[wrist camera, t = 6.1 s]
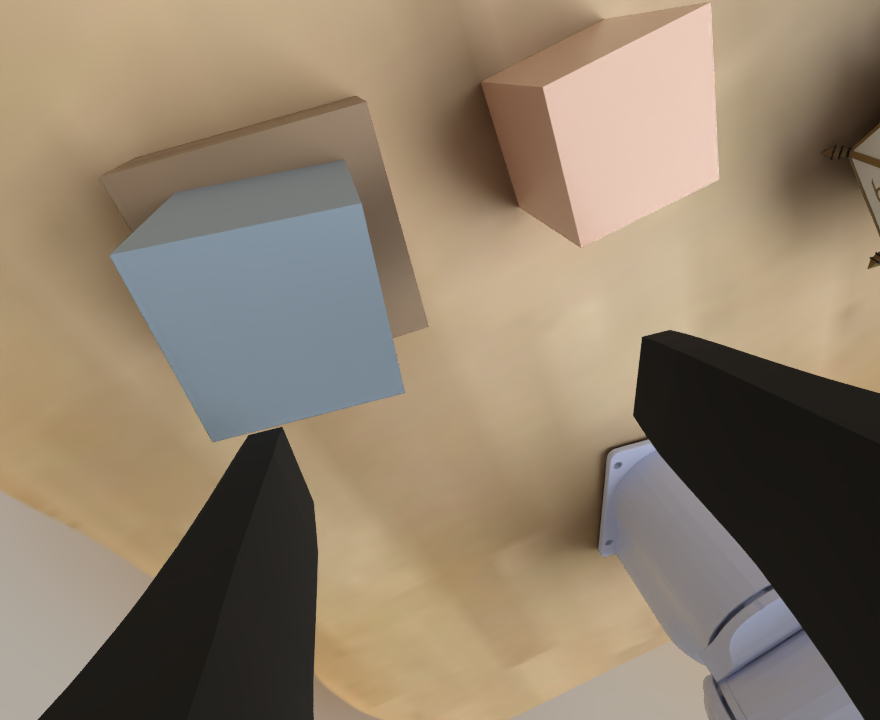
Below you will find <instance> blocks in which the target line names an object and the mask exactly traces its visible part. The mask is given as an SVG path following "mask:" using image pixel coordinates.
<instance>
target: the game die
mask: <svg viewBox="0 0 880 720" xmlns="http://www.w3.org/2000/svg"><path fill="white" fill-rule="evenodd" d="M836 146H837V145H835V147H833V148H831V149H829V150H826V151H824V152H822V154H824V155H826V156H828V157H829V158H831V160H832V159H833V158H838V159H840V158H843V157H847V158H849V161H850V163H851V166H852V168H853V171H854V173H855V176H856V178H857V181H858V183H859V186H860V188H861V191H862V193H863V196H864V198H865V201H866V203H867V206H868V208H869V211H870V213H871V216H872V218H873V221H874V223H875V226H876V228H877V231H878V233H879V236H880V123H879V124H878V125H877V126H876V127H875V128H873V129H872V130H871V131H870V132H869V133H868V134H867V135H865V136H864V137H863V138H862V139H861V140H860V141H859V142H858V143H856V144H855V145H854V146H853V147H852V148H845V147H844V146H842V147H836ZM870 259H871V260H870V263H869V266H868V269H870V268H873V267H876V266H880V252H878V253H877V252H876V253H875V255H874V256H873V257H870Z"/></svg>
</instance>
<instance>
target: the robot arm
mask: <svg viewBox="0 0 880 720" xmlns="http://www.w3.org/2000/svg"><path fill="white" fill-rule="evenodd" d="M633 416H634V417H635V419H636V421H637V422H638V424H639V425H640V427H641V428H642V430H643V431H644V433H645V435H646V436H647V438H648V440H645V441H641V442H637V443H634V444H630V445H627V446H623V447H619V448H616V449H613V450H612V451H610V452H609V454H608V456H607V463H606V473H605V484H604V494H603V505H602V515H601V526H600V537H599V547H598V551H599V553H600V554H601V556H604V557H606V556H610V555H613V554H616V555H617V556H618V558H619V560H620V561H621V563H622V564H623V566H624V568H625V569H626V571H627V572H628V574H629V575H630V577H631V579H632V580H633V582H634V583H635V585H636V586H637V588H638V590H639V591H640V593H641V594H642V596H643V597H644V599H645V601H646V602H647V604H648V605H649V607H650V609H651V610H652V612H653V613H654V615H655V616H656V618H657V620H658V621H659V623H660V624H661V626H662V627H663V629H664V631H665V632H666V634H667V635H668V636H669V638H670V639H671V640H672V641H673V642H674V643H675V645H676V646H677V647H679V648H680V649H681V650H682V651H683V652H684V653H685V654H687V655H689V656H690V657H691V658H693V659H694V660H696V661H697V662H699V663H701V664H703V665H705V666H706V667H707V668H708V670H709V671H710V673H711V675H709V676H707V677H706V678H705V679H704V680H703V689H704V704H705V709H706V712H707V715H708V718H709V720H880V393H876V392H873V391H869V390H866V389H862V388H859V387H855V386H852V385H848V384H845V383H841V382H837V381H834V380H830V379H827V378H824V377H820V376H817V375H814V374H811V373H807V372H804V371H801V370H798V369H794V368H791V367H788V366H785V365H782V364H779V363H776V362H773V361H769V360H766V359H763V358H760V357H757V356H754V355H751V354H748V353H745V352H742V351H739V350H736V349H733V348H730V347H727V346H724V345H720V344H717V343H714V342H711V341H708V340H705V339H701V338H698V337H695V336H691V335H688V334H684V333H680V332H676V331H672V330H668V331H664V332H660V333H656V334H652V335H648V336H644V337H642V343H641V352H640V360H639V369H638V378H637V387H636V395H635V404H634V413H633ZM317 568H318V547H317V534H316V522H315V512H314V502H313V499H312V497H311V495H310V492H309V490H308V487H307V485H306V483H305V480H304V478H303V475H302V473H301V471H300V468H299V466H298V463H297V461H296V459H295V456H294V454H293V451H292V449H291V447H290V444H289V442H288V439H287V437H286V435H285V432H284V430H283V427H280V428H276V429H272V430H268V431H264V432H260V433H256V434H252V435H248V437H247V439H246V440H245V442H244V443H243V445H242V446H241V448H240V449H239V451H238V452H237V454H236V456H235V457H234V459H233V460H232V462H231V464H230V465H229V467H228V469H227V470H226V472H225V473H224V475H223V477H222V478H221V480H220V482H219V483H218V485H217V486H216V488H215V490H214V491H213V493H212V494H211V496H210V498H209V499H208V501H207V502H206V504H205V505H204V507H203V508H202V510H201V511H200V513H199V514H198V516H197V518H196V519H195V521H194V522H193V524H192V525H191V527H190V528H189V530H188V531H187V533H186V534H185V536H184V537H183V539H182V540H181V542H180V543H179V545H178V546H177V548H176V549H175V550H174V552H173V553H172V555H171V556H170V557H169V559H168V560H167V562H166V563H165V564H164V566H163V567H162V569H161V570H160V571H159V573H158V574H157V576H156V577H155V578H154V580H153V581H152V583H151V584H150V585H149V587H148V588H147V590H146V591H145V592H144V594H143V595H142V596H141V598H140V599H139V600H138V602H137V603H136V604H135V606H134V607H133V608H132V610H131V611H130V612H129V613H128V615H127V616H126V617H125V618H124V620H123V621H122V622H121V623H120V625H119V626H118V627H117V628H116V630H115V631H114V632H113V633H112V635H111V636H110V637H109V638H108V639H107V641H106V642H105V643H104V644H103V645H102V647H101V648H100V649H99V650H98V651H97V653H96V654H95V655H94V656H93V658H92V659H91V660H90V661H89V662H88V664H87V665H86V666H85V667H84V669H83V670H82V671H81V672H80V673H79V674H78V675H77V677H76V678H75V679H74V680H73V681H72V683H71V684H70V685H69V686H68V687H67V688H66V689H65V690H64V691H63V693H62V694H61V695H60V696H59V697H58V698H57V699H56V700H55V701H54V703H53V704H52V705H51V706H50V707H49V708H48V709H47V710H46V711H45V712H44V714H43V715H42V716H41V717H40V718H39V719H38V720H314V717H313V675H314V649H315V623H316V598H317Z"/></svg>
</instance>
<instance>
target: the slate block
mask: <svg viewBox="0 0 880 720" xmlns="http://www.w3.org/2000/svg"><path fill="white" fill-rule="evenodd" d="M109 256H110V258H111V260H112V261H113V263H114V265H115V267H116V269H117V270H118V272H119V274H120V276H121V278H122V279H123V281H124V283H125V285H126V287H127V288H128V290H129V292H130V294H131V296H132V297H133V299H134V301H135V303H136V305H137V306H138V308H139V310H140V312H141V314H142V316H143V317H144V319H145V321H146V323H147V325H148V326H149V328H150V330H151V332H152V334H153V335H154V337H155V339H156V341H157V343H158V344H159V346H160V348H161V350H162V352H163V353H164V355H165V357H166V359H167V361H168V363H169V364H170V366H171V368H172V370H173V372H174V373H175V375H176V377H177V379H178V381H179V382H180V384H181V386H182V388H183V390H184V391H185V393H186V395H187V397H188V399H189V400H190V402H191V404H192V406H193V408H194V410H195V411H196V413H197V415H198V417H199V419H200V420H201V422H202V424H203V426H204V428H205V429H206V431H207V433H208V435H209V437H210V438H211V440H212V442H216V441H220V440H224V439H228V438H231V437H235V436H239V435H243V434H247V433H251V432H255V431H259V430H263V429H266V428H270V427H274V426H278V425H282V424H286V423H290V422H294V421H298V420H301V419H305V418H309V417H313V416H317V415H321V414H325V413H329V412H332V411H336V410H340V409H344V408H348V407H352V406H356V405H360V404H364V403H367V402H371V401H375V400H379V399H383V398H387V397H391V396H395V395H398V394H402V393H405V391H404V386H403V382H402V378H401V373H400V369H399V364H398V360H397V356H396V351H395V347H394V343H393V338H392V334H391V329H390V325H389V321H388V316H387V312H386V307H385V303H384V299H383V294H382V290H381V286H380V281H379V277H378V272H377V268H376V264H375V259H374V255H373V251H372V246H371V242H370V237H369V233H368V229H367V224H366V220H365V216H364V211H363V207H362V203H361V200H360V198H359V195H358V193H357V190H356V188H355V185H354V183H353V180H352V178H351V175H350V172H349V170H348V167H347V165H346V162H345V160H340V161H335V162H330V163H325V164H320V165H315V166H309V167H304V168H299V169H294V170H289V171H284V172H278V173H273V174H268V175H263V176H258V177H253V178H247V179H242V180H237V181H232V182H227V183H222V184H216V185H211V186H206V187H201V188H196V189H191V190H186V191H180V192H175V193H174V194H173V195H172V196H171V197H170V198H169V199H168V200H167V201H166V202H165V203H164V204H163V205H162V206H160V207H159V208H158V209H157V210H156V211H155V212H154V213H153V214H152V215H151V216H150V217H149V218H148V219H147V220H146V221H145V222H144V223H143V224H141V225H140V226H139V227H138V228H137V229H136V230H135V231H134V232H133V233H132V234H131V235H130V236H129V237H128V238H127V239H126V240H125V241H124V242H122V243H121V244H120V245H119V246H118V247H117V248H116V249H115V250H114V251H113V252H112V253H111V254H110V255H109Z"/></svg>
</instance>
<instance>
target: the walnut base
mask: <svg viewBox="0 0 880 720" xmlns="http://www.w3.org/2000/svg"><path fill="white" fill-rule="evenodd" d="M340 160H345V162H346V165H347V167H348V170H349V172H350V175H351V178H352V180H353V183H354V185H355V188H356V190H357V193H358V195H359V198H360V200H361V203H362V207H363V211H364V216H365V220H366V224H367V229H368V233H369V237H370V242H371V246H372V251H373V255H374V259H375V264H376V268H377V272H378V277H379V281H380V286H381V290H382V294H383V299H384V303H385V307H386V312H387V316H388V321H389V325H390V329H391V334H392V338H395V337H398V336H401V335H404V334H407V333H410V332H413V331H416V330H420V329H423V328H426V327H429V326H428V322H427V319H426V315H425V312H424V308H423V304H422V301H421V297H420V294H419V290H418V286H417V283H416V279H415V276H414V272H413V268H412V265H411V261H410V258H409V254H408V250H407V247H406V243H405V240H404V236H403V232H402V229H401V225H400V222H399V218H398V214H397V211H396V207H395V204H394V200H393V196H392V193H391V189H390V186H389V182H388V178H387V175H386V171H385V168H384V164H383V160H382V157H381V153H380V150H379V146H378V142H377V139H376V135H375V132H374V128H373V124H372V121H371V117H370V114H369V110H368V106H367V103H366V101H364V100H362V99H361V98H359V97H357V96H354V97H350V98H347V99H343V100H339V101H336V102H332V103H329V104H325V105H322V106H318V107H315V108H311V109H307V110H304V111H300V112H297V113H293V114H290V115H286V116H283V117H279V118H276V119H272V120H268V121H265V122H261V123H258V124H254V125H251V126H247V127H244V128H240V129H236V130H233V131H229V132H226V133H222V134H219V135H215V136H212V137H208V138H204V139H201V140H197V141H194V142H190V143H187V144H183V145H180V146H176V147H172V148H169V149H165V150H162V151H158V152H155V153H151V154H148V155H144V156H141V157H137V158H135V159H133V160H131V161H129V162H127V163H125V164H123V165H121V166H119V167H117V168H116V169H114V170H112V171H110V172H108V173H106V174H104V175H102V176H100V177H99V179H100V181H101V182H102V184H103V186H104V187H105V189H106V191H107V192H108V194H109V195H110V197H111V199H112V200H113V202H114V204H115V205H116V207H117V208H118V210H119V212H120V213H121V215H122V217H123V218H124V220H125V222H126V223H127V225H128V226H129V228H130V230H131V231H132V233H133V232H134V231H135V230H136V229H137V228H138V227H139V226H140V225H141V224H143V223H144V222H145V221H146V220H147V219H148V218H149V217H150V216H151V215H152V214H153V213H154V212H155V211H156V210H157V209H158V208H159V207H160V206H162V205H163V204H164V203H165V202H166V201H167V200H168V199H169V198H170V197H171V196H172V195H173V194H174V193H175V192H180V191H186V190H191V189H196V188H201V187H206V186H211V185H216V184H222V183H227V182H232V181H237V180H242V179H247V178H253V177H258V176H263V175H268V174H273V173H278V172H284V171H289V170H294V169H299V168H304V167H309V166H315V165H320V164H325V163H330V162H335V161H340Z"/></svg>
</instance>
